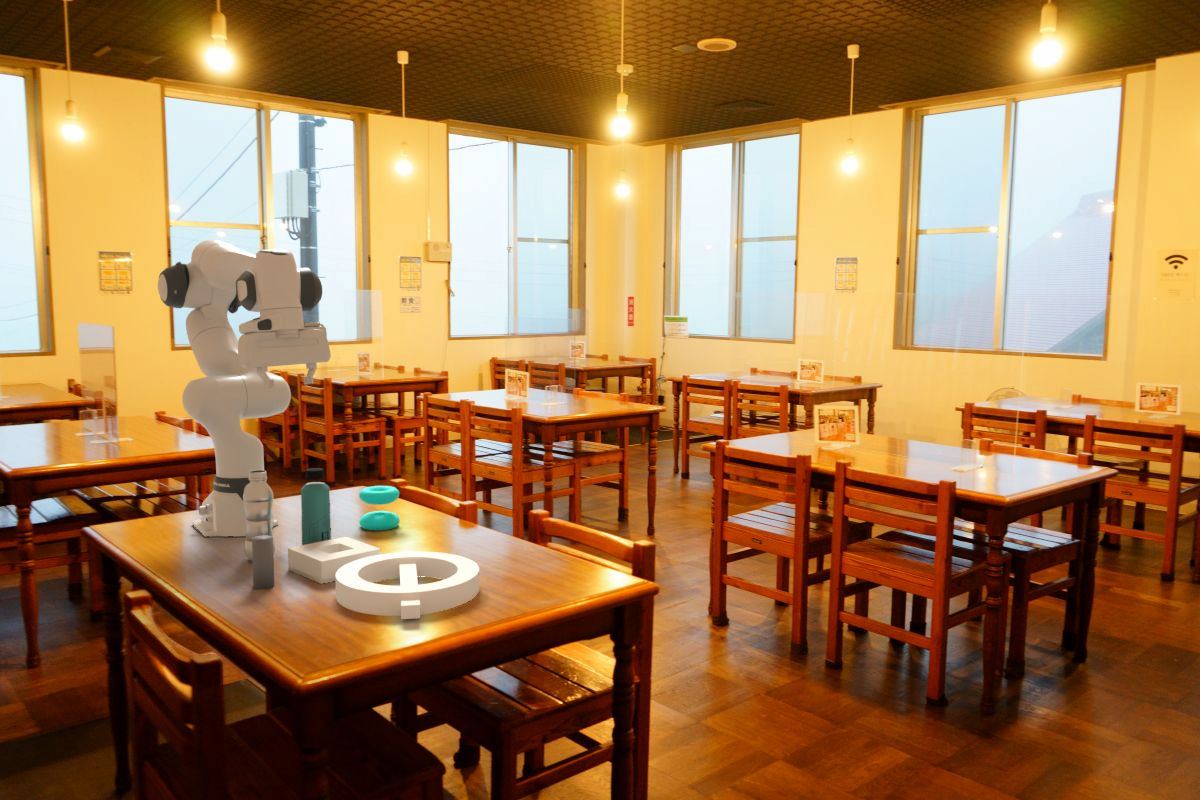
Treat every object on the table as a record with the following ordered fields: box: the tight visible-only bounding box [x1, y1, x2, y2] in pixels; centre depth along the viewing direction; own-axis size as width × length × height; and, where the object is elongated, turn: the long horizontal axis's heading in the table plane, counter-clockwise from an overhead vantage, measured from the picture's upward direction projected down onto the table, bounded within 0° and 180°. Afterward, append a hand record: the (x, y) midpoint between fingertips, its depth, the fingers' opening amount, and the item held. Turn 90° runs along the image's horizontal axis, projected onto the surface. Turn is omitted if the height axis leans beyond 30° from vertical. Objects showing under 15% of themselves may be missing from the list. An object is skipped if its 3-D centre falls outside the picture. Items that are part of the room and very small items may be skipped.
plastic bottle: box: [243, 469, 276, 562], centre depth 201 cm, size 6×7×20 cm
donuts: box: [358, 485, 401, 532], centre depth 233 cm, size 10×10×10 cm
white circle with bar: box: [335, 551, 480, 620], centre depth 182 cm, size 28×28×5 cm
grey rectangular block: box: [252, 535, 275, 590], centre depth 184 cm, size 4×4×10 cm
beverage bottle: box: [300, 467, 332, 545], centre depth 206 cm, size 6×7×20 cm
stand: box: [287, 536, 382, 584], centre depth 196 cm, size 14×14×5 cm
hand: (289, 386), depth 200 cm, fingers open, 8 cm apart
